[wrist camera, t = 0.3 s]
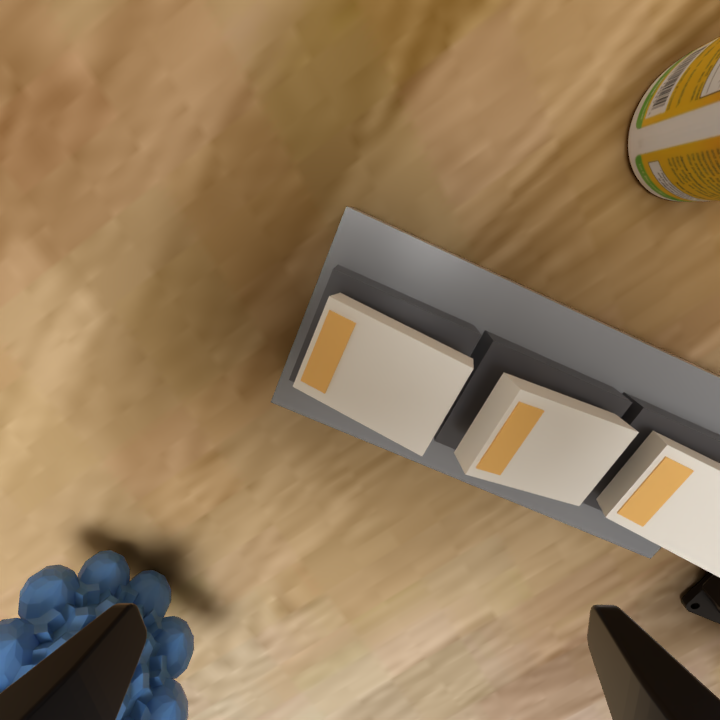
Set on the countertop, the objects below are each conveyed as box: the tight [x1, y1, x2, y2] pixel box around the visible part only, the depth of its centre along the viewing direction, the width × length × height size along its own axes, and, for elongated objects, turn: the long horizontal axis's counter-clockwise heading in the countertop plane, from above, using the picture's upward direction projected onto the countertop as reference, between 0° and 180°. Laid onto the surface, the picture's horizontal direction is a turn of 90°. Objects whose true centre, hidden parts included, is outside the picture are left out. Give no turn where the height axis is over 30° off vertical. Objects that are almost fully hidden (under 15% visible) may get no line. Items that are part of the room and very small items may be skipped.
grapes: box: [0, 550, 194, 720], centre depth 21 cm, size 12×7×12 cm, turn 51°
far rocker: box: [596, 431, 720, 577], centre depth 15 cm, size 5×4×2 cm
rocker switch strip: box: [271, 206, 720, 559], centre depth 18 cm, size 20×9×4 cm, turn 67°
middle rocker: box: [454, 372, 639, 506], centre depth 15 cm, size 5×4×2 cm
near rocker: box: [293, 293, 474, 456], centre depth 14 cm, size 5×4×2 cm
